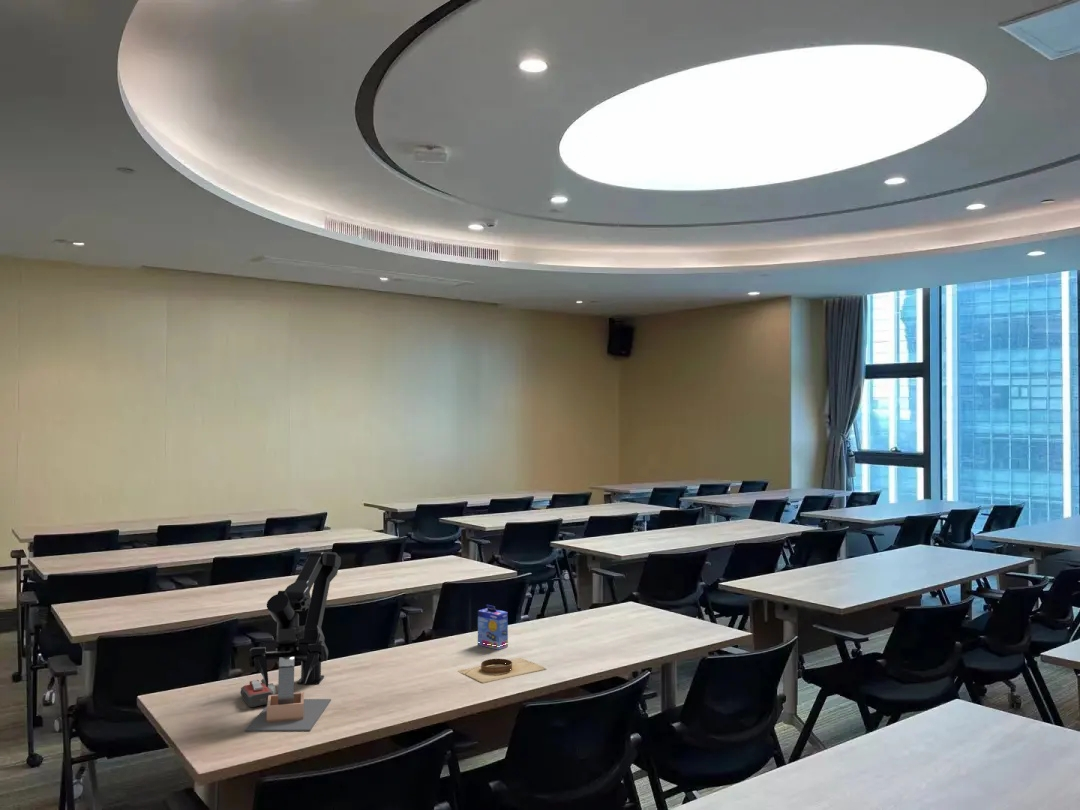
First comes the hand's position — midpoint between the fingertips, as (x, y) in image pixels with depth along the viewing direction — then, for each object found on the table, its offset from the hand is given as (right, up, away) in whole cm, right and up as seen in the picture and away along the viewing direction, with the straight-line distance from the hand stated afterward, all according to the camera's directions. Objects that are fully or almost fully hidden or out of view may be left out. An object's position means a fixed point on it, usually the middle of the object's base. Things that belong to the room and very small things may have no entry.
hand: (285, 684), depth 200 cm
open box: (0, -8, +1) cm, 8 cm away
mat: (+1, -9, +2) cm, 9 cm away
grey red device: (-13, -9, +16) cm, 22 cm away
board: (+54, -12, +42) cm, 69 cm away
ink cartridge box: (+49, -12, +70) cm, 86 cm away
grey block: (0, -8, +1) cm, 8 cm away
